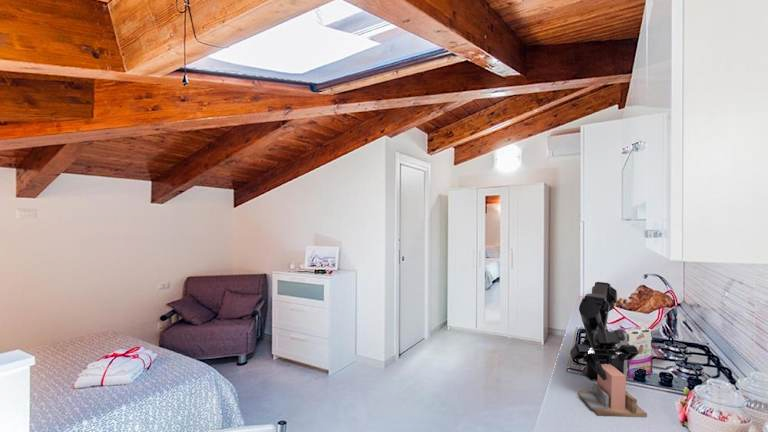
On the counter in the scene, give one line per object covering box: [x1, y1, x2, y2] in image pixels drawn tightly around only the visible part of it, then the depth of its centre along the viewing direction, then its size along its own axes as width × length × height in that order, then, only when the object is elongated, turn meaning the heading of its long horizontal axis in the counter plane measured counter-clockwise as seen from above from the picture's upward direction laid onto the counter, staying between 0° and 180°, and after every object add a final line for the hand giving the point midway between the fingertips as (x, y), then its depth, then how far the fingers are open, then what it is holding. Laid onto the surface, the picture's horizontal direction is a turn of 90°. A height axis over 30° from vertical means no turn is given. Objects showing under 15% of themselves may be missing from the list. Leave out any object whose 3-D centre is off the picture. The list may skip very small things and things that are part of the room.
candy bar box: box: [616, 325, 653, 379], centre depth 134 cm, size 11×5×16 cm, turn 105°
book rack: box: [577, 382, 648, 418], centre depth 114 cm, size 12×15×5 cm
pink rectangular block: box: [596, 363, 627, 409], centre depth 114 cm, size 8×4×10 cm, turn 177°
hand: (613, 380), depth 112 cm, fingers open, 5 cm apart
